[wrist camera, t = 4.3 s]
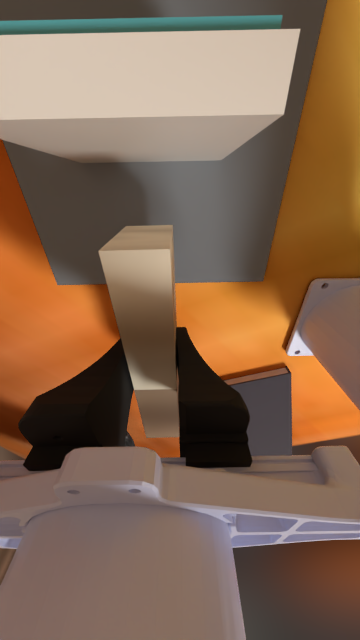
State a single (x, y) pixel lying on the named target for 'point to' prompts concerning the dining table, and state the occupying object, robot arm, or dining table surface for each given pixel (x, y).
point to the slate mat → (168, 166)
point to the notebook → (267, 411)
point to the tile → (143, 85)
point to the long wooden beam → (147, 319)
